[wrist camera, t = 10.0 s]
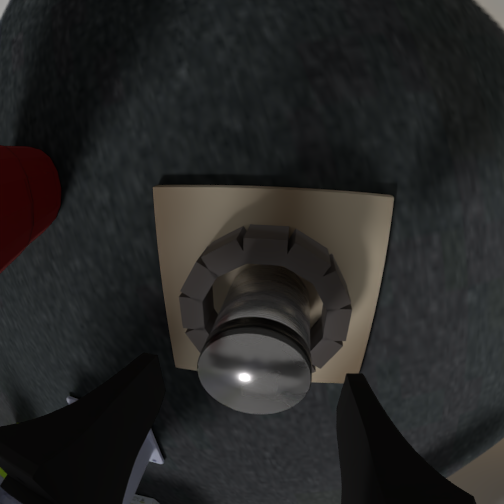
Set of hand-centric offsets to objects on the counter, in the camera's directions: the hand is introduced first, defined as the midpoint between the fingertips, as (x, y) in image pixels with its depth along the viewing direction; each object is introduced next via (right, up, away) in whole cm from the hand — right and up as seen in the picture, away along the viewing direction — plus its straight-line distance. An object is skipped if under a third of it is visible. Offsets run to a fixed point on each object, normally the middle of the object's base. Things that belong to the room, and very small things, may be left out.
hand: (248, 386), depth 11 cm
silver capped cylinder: (+1, +2, +6) cm, 6 cm away
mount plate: (+1, +3, +6) cm, 7 cm away
